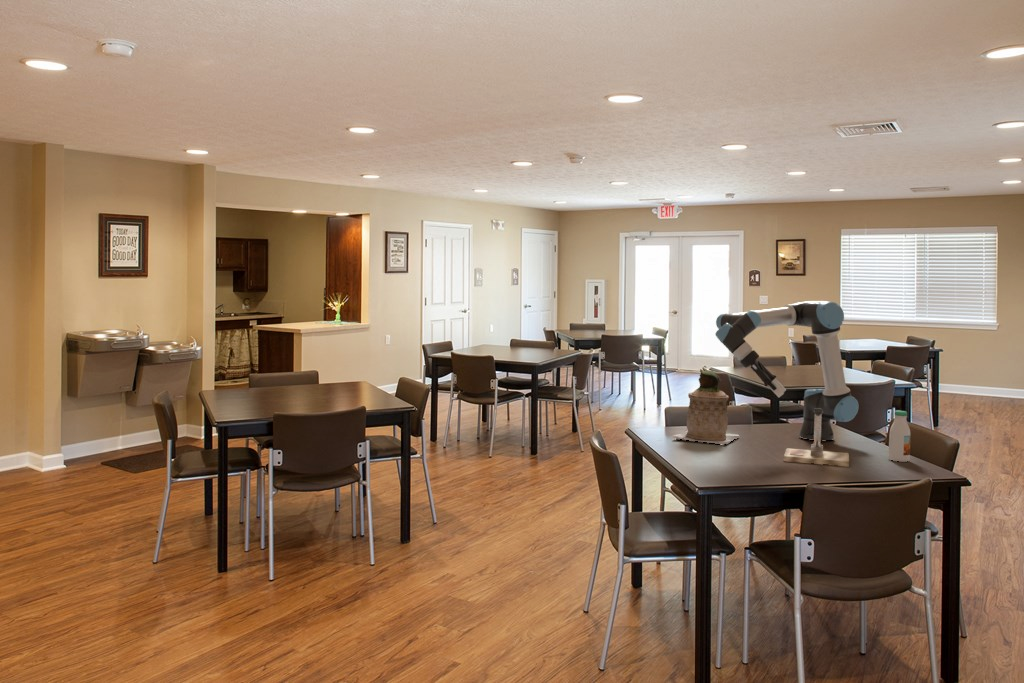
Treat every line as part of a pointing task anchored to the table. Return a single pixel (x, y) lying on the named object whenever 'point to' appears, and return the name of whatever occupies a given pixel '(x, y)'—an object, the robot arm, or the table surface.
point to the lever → (817, 426)
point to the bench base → (816, 456)
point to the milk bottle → (899, 438)
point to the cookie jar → (707, 412)
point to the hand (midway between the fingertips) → (782, 393)
